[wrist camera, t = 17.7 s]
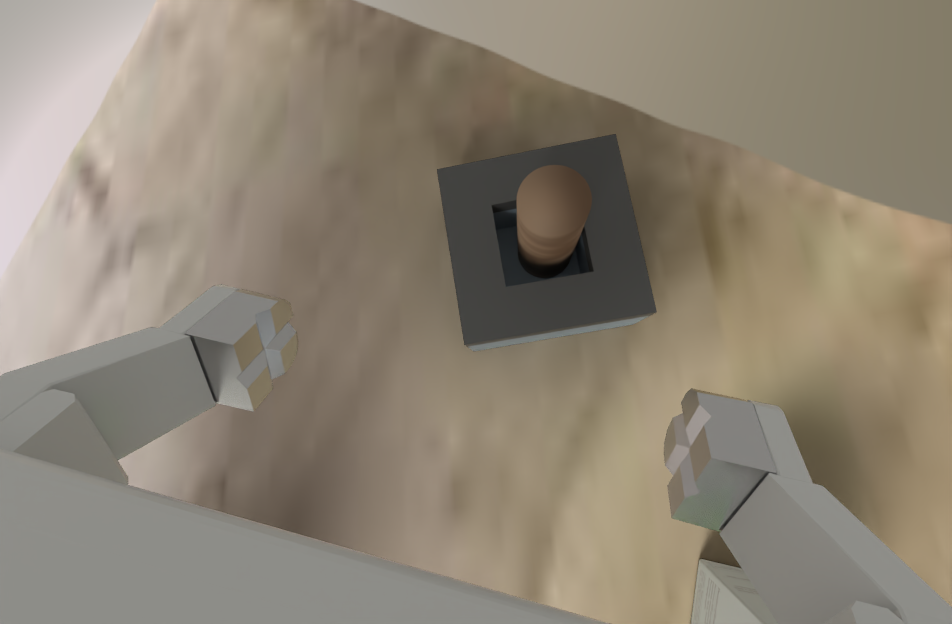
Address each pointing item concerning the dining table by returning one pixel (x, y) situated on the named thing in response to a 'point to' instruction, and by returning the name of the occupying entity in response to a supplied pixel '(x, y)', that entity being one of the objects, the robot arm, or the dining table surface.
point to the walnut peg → (550, 218)
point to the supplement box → (727, 597)
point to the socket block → (496, 250)
